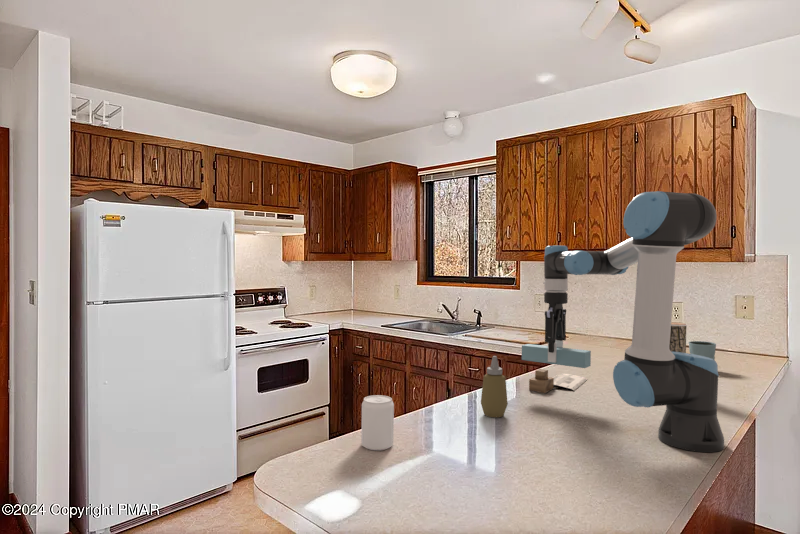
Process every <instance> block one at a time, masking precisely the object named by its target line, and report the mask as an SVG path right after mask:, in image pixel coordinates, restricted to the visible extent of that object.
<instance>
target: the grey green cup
mask: <svg viewBox="0 0 800 534" xmlns="http://www.w3.org/2000/svg"><path fill="white" fill-rule="evenodd" d="M716 347H717V344H716V343H715V342H710V341H704V340H699V341H698V340H694V341H689V342H688V350H689V354H694V355H699V356H704V357H708V358H711V359H713V360H715V359H716V357H715V355H716V349H717V348H716ZM715 361H716V360H715Z"/></svg>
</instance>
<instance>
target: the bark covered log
mask: <svg viewBox="0 0 800 534" xmlns="http://www.w3.org/2000/svg"><path fill="white" fill-rule="evenodd" d="M669 349H670V351H671V352H681V353H687V323H683V322H672V321H671V331H670V344H669Z"/></svg>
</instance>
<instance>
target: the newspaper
mask: <svg viewBox="0 0 800 534" xmlns="http://www.w3.org/2000/svg"><path fill="white" fill-rule="evenodd" d="M552 378H554V389H556V390H557V389H558V388H559V387H562V388H566V389H568V390H571V391H572V392H575V391H577V390H578V389H579V388H580V387H581V386H582V385H583V384H584V383H586V382H587V381H588V378H586V377H583V376H580V375H575V374H570V373H560V374H555V376H553V377H552ZM554 389H553V390H554Z"/></svg>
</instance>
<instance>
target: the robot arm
mask: <svg viewBox="0 0 800 534" xmlns="http://www.w3.org/2000/svg"><path fill="white" fill-rule="evenodd" d="M717 217H718V216H717V211H716V208H715V206H714V204H713V203H712V202H711V200H709V199H708V198H707V197H705V196H703V195H700V194H699V193H698V194H697V193H690V192H688V193H685V192H674V191H673V192H671V191H660V190H657V191H644V192H641V193H639V194H637V195H636V196H635V197H633V198H632V200H631V201H630V202H629V204H628V205H627V207H626V209H625V211H624V215H623V220H622V221H623V229H624V230H625V233H626V234H627V236H628V237H629V238H627V239H626V240H624V241H622V242H620V243H618V244H617V245H615V246H612V247H611V248H609V249H608V248H607V250H601V251H600V250H597V251H596V250H583V249H582V250H569V248H568V246H567V245H547V246H546V247H545V248H544V256H543V260H544V261H543V264H544V265H543V266H544V267H543V269H544V271H543V272H544V281H543V282H542V283H543V287H544V291H545V292H544V293H543V294H544V295H543V299H544V300H543V303H545V304H548V308H547V310H545V311H544V318H545V319H544V320H545V321H544V322H545V323H544V325H545V326H544V342H545V343H547V346H548V362H554V363H556V362H557V347H561V348H564V341H566V340H567V338H566V335H567V333H566V329H567V328H566V327H567V325H566V324H567V321H566V319H567V309H566V308H564V306H563V305H565V304H568V292H567V291H568V289H569V288H568V287H569V286H568V285H569V284H568V283H569V279H568V278H569V277H568V276H569V275H574V276H583V275H584V276H585V275H586V276H587V275H604V276H605V275H609V276H610V275H611V276H616V275H622V274H625V273H626V272H627V270H628V269H629V267H630V266H633V265H635V264H637V266H636V267H637V268H636V280H635V283H636V284H635V292H634V293H635V297H634V311H633V322H632V323H633V324H632V325H633V326H632V338H631V345H630V346H628V347H627V348H626V349H624V359H622V360H620V361H618V362H617V363H616V365H614V368H613V371H612V380H613V385H614V389H615V390H616V391H617V393H618V395H619V397H620V398H621V399H622V401H623V402H625V403H626V404H627V405H629V406H632V407H635V408H651V407H660V406H661V407H663V406H666V407H665V411H664V414H663V416H662V420H661V421H660V424H659V425H658V426H659V427H658V430H657V431H658V435H657V436H658V437H657V438H658V439H659V440H660V441H661V442H662V443H664V444H667V445H668V446H671V447H674V448H677V449H681V450H686V451H690V452H691V451H692V452H698V453H699V452H700V453H716V452H720V451H722V450H725V449H724V448H725V437H724V434H723V431H722V427H721V424H720V422H719V419H718V389H719V377H720V375H719V373H718V372H719V369H718V363H717V361H716V360H713V359H711V358H708V357H704V356H699V355H694V354H690V353H687V352H686V353H681V352H671V351H670V349H669V344H670V331H671V322H672V315H673V306H674V305H673V304H674V303H673V301H674V288H675V278H676V263H677V254H678V253H679V252H681V251H682V250H683V249H685V246H687V245H690V244H692V243H695V242H697V241H699V240H701V239H704V238H705V237H706V236H707V235H709V234H710V233H711V232H712V231H713V229H714V228H715V226H716V223H717Z"/></svg>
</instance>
